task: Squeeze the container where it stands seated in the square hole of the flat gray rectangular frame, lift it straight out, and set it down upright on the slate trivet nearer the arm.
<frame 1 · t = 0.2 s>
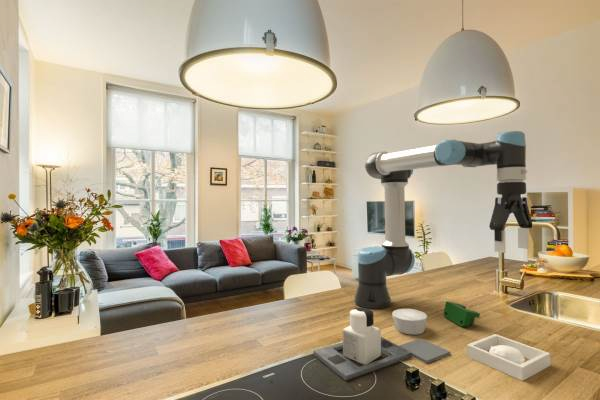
hand: (512, 250, 97), 28 cm above the kitchen island, fingers open, 13 cm apart
trivet: (423, 351, 91), on the kitchen island
flat gray rectangular frame: (362, 355, 88), on the kitchen island
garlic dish: (507, 360, 85), on the kitchen island
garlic: (506, 362, 85), resting in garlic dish
ramekin: (409, 330, 106), on the kitchen island
green angular block: (461, 322, 112), on the kitchen island
container: (362, 356, 88), resting in flat gray rectangular frame
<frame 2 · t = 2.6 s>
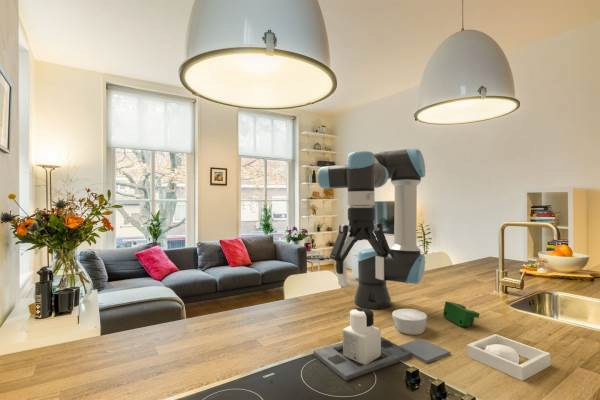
hand: (361, 282, 88), 21 cm above the kitchen island, fingers open, 13 cm apart
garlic: (501, 361, 86), resting in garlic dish
everything else where it was.
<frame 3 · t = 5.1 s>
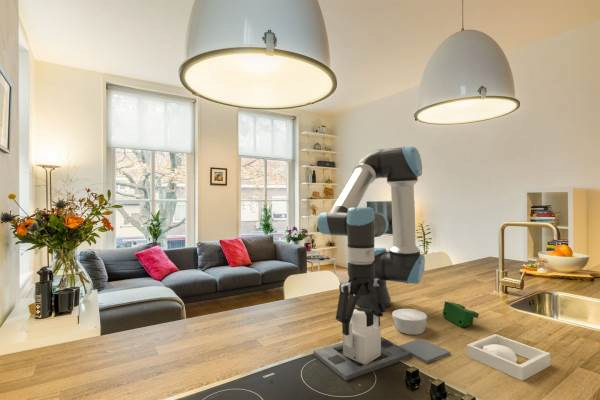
hand: (361, 341, 88), 4 cm above the kitchen island, fingers closed on container, 9 cm apart
container: (362, 356, 88), resting in flat gray rectangular frame, touching gripper
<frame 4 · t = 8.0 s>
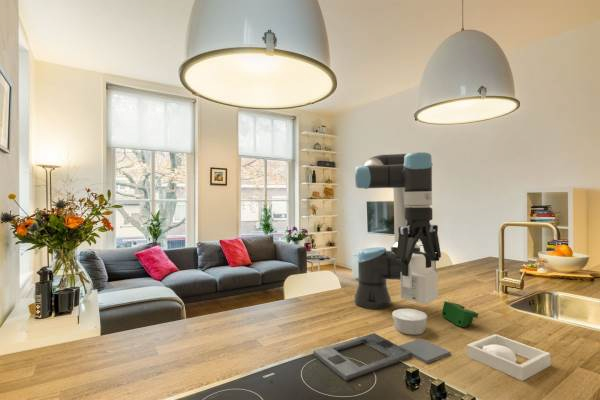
hand: (419, 284, 91), 19 cm above the kitchen island, fingers closed on container, 9 cm apart
container: (419, 299, 91), point 15 cm above the kitchen island, touching gripper
everything else where it was.
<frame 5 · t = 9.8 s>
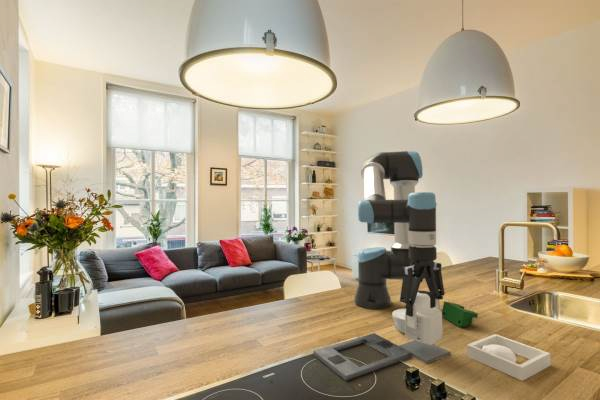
hand: (423, 323, 90), 8 cm above the kitchen island, fingers closed on container, 9 cm apart
container: (423, 338, 90), point 4 cm above the kitchen island, touching gripper
when the fingers open (6 cm above the kitchen island, at t = 11.1 s): container drops 1 cm, resting on trivet.
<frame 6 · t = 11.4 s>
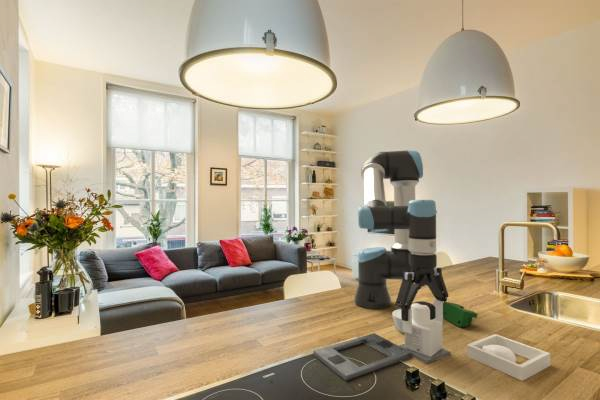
hand: (423, 327, 91), 7 cm above the kitchen island, fingers open, 12 cm apart
container: (423, 349, 91), point 1 cm above the kitchen island, touching trivet
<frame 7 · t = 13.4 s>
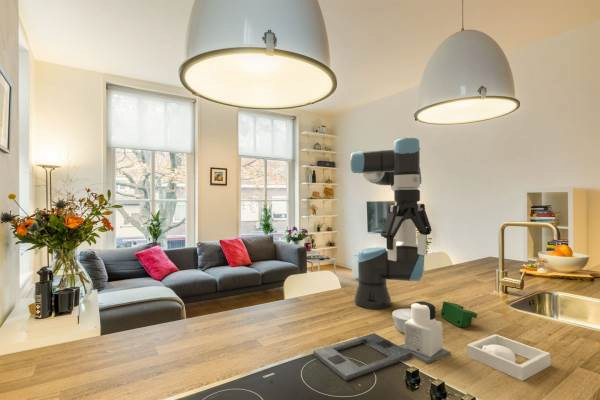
hand: (407, 257, 97), 26 cm above the kitchen island, fingers open, 13 cm apart
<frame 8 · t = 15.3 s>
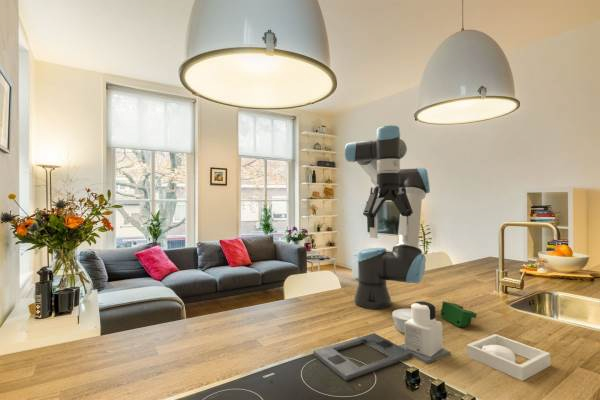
hand: (389, 236, 105), 32 cm above the kitchen island, fingers open, 13 cm apart
at the end: container inside the target area on the trivet (0.0 cm from its centre), point 0.6 cm above the trivet's base; container tilted 0°; the gripper is holding nothing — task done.
